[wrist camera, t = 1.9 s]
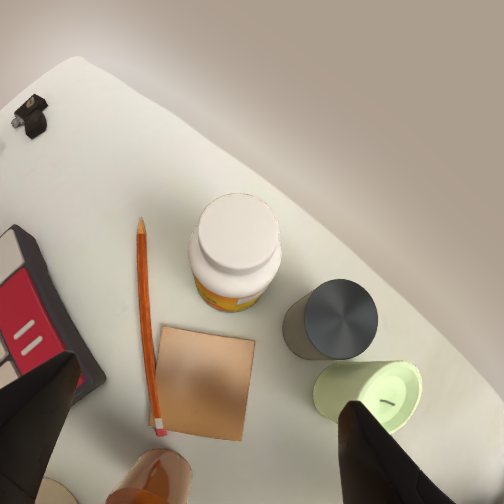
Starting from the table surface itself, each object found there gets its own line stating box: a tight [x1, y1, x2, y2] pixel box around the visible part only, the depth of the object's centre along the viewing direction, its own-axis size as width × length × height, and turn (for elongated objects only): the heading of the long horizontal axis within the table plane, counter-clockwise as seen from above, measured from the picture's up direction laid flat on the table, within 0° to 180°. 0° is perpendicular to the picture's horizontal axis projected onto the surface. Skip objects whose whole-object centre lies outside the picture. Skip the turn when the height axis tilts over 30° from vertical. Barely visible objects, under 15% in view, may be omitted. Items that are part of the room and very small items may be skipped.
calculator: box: [0, 224, 106, 406], centre depth 17 cm, size 11×4×15 cm
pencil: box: [137, 217, 167, 437], centre depth 21 cm, size 1×18×1 cm, turn 9°
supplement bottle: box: [188, 193, 282, 313], centre depth 19 cm, size 5×5×10 cm
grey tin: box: [283, 279, 378, 360], centre depth 20 cm, size 5×5×6 cm
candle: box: [313, 360, 422, 435], centre depth 17 cm, size 5×5×8 cm
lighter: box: [11, 94, 48, 139], centre depth 26 cm, size 8×2×5 cm
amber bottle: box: [105, 449, 192, 504], centre depth 12 cm, size 4×4×11 cm
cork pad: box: [149, 326, 255, 441], centre depth 20 cm, size 8×7×1 cm
